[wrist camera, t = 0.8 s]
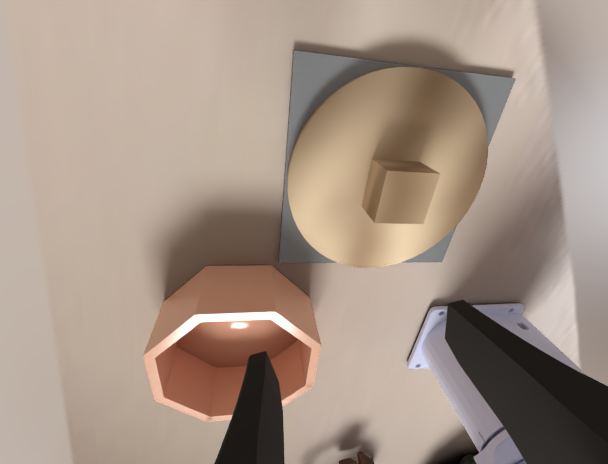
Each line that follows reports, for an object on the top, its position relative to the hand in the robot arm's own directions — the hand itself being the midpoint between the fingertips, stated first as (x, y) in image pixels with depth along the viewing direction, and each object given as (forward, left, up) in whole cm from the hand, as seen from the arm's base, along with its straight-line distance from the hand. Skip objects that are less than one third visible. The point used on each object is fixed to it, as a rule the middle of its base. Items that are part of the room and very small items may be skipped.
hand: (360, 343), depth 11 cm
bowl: (+5, +8, -10) cm, 14 cm away
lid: (-4, -4, -9) cm, 11 cm away
